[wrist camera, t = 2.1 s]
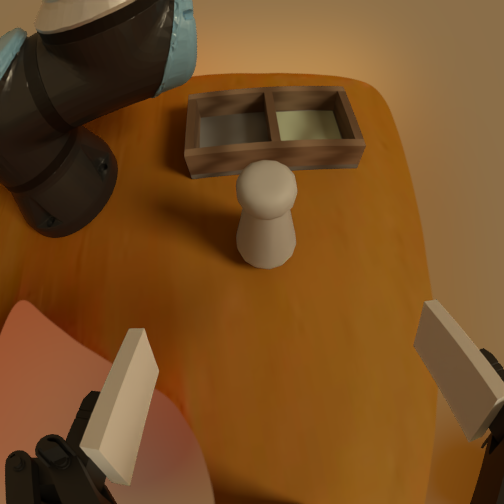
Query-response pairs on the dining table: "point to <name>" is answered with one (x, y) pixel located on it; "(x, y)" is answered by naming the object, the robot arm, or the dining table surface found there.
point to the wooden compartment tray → (271, 129)
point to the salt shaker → (266, 214)
